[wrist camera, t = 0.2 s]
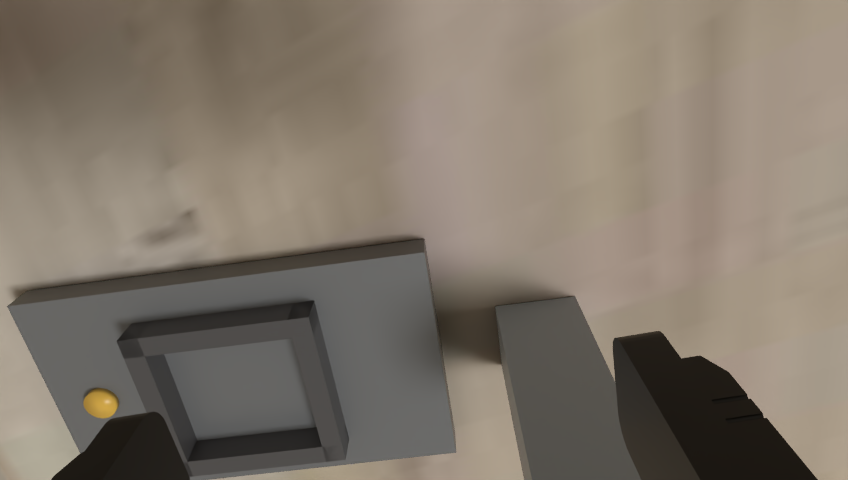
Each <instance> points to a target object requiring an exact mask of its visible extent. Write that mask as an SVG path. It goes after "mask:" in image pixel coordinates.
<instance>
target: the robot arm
mask: <svg viewBox="0 0 848 480" xmlns="http://www.w3.org/2000/svg"><path fill="white" fill-rule="evenodd" d="M613 357H614V369H615V382H616V394H617V406H618V416H619V422H620V427H621V431H622V435H623V438H624V441H625V444H626V447H627V450H628V452H629V454H630V456H631V458H632V461H633V463H634V465H635V467H636V469H637V472H638V474H639V476H640V478H641V480H817V478H816V477H815V476H814V475H813V474H812V472H811V471H810V470H809V469H808V467H807V466H806V465H805V464H804V463H803V461H802V460H801V459H800V458H799V457H798V455H797V454H796V453H795V452H794V451H793V449H792V448H791V447H790V446H789V445H788V443H787V442H786V441H785V440H784V438H783V437H782V436H781V435H780V434H779V432H778V431H777V430H776V429H775V428H774V426H773V425H772V424H771V423H770V422H769V420H768V419H767V418H764V417H763V413H762V412H761V411H760V409H759V408H758V407H757V406H756V405H755V403H754V402H753V401H752V400H751V399H748V397H747V394H746V393H745V391H744V390H743V389H742V388H741V386H740V385H739V384H738V383H737V382H736V380H735V379H734V378H733V377H732V376H731V374H730V373H729V372H727V371H726V370H724V369H722V368H721V367H719V366H717V365H715V364H714V363H712V362H710V361H709V360H707V359H705V358H703V357H702V356H695V357H688V358H682V359H681V358H680V356H679V355H678V354H677V352H676V351H675V349H674V348H673V347H672V345H671V344H670V343H669V341H668V340H667V338H666V337H665V336H664V334H663V333H662V332H660V331H656V332H649V333H643V334H637V335H631V336H625V337H618V338H615V339H614V341H613ZM51 480H190V477H189V475H188V472H187V470H186V468H185V465H184V463H183V461H182V459H181V456H180V454H179V452H178V449H177V447H176V445H175V442H174V440H173V438H172V435H171V433H170V431H169V429H168V426H167V424H166V422H165V420H164V418H163V417H162V416H161V415H160V414H159V413H157V412H147V413H141V414H135V415H129V416H123V417H117V418H112V419H110V420H109V421H107V422H106V423H105V425H104V426H103V427H102V429H101V430H100V431H99V433H98V434H97V435H96V437H95V438H94V439H93V441H92V442H91V443H90V445H89V446H88V447H87V449H86V450H85V451H84V452H82V453H81V454H80V455H78V456H77V457H76V458H75V459H74V460H72V461H71V462H70V463H69V464H68V465H67V466H65V467H64V468H63V469H62V470H61V471H59V472H58V473H57V474H56V475H55V476H54V477H53V478H52V479H51Z"/></svg>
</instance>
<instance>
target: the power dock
mask: <svg viewBox="0 0 848 480" xmlns="http://www.w3.org/2000/svg"><path fill="white" fill-rule="evenodd" d="M7 307H8V309H9V311H10V313H11V315H12V317H13V319H14V321H15V323H16V325H17V327H18V329H19V331H20V333H21V335H22V337H23V339H24V341H25V343H26V345H27V347H28V349H29V351H30V353H31V355H32V357H33V359H34V361H35V363H36V365H37V367H38V369H39V371H40V373H41V375H42V377H43V379H44V381H45V383H46V385H47V387H48V389H49V391H50V393H51V395H52V397H53V399H54V401H55V403H56V405H57V407H58V409H59V411H60V413H61V415H62V417H63V419H64V421H65V423H66V425H67V427H68V429H69V431H70V433H71V435H72V437H73V439H74V441H75V443H76V445H77V447H78V449H79V451H80V453H82V452H84V451H85V450H86V449H87V447H88V446H89V445H90V443H91V442H92V441H93V439H94V438H95V437H96V435H97V434H98V433H99V431H100V430H101V429H102V427H103V426H104V425H105V423H106V422H107V421H109V420H110V419H112V418H117V417H123V416H129V415H135V414H141V413H147V412H157V413H159V414H160V415H161V416H162V417H163V418H164V420H165V422H166V424H167V426H168V429H169V431H170V433H171V435H172V438H173V440H174V442H175V445H176V447H177V449H178V452H179V454H180V456H181V459H182V461H183V463H184V465H185V468H186V470H187V472H188V475H189V477H190V480H208V479H217V478H226V477H236V476H245V475H254V474H263V473H272V472H282V471H291V470H300V469H309V468H318V467H328V466H337V465H346V464H355V463H364V462H373V461H383V460H392V459H401V458H410V457H419V456H429V455H438V454H447V453H456V442H455V430H454V424H453V417H452V411H451V405H450V398H449V392H448V386H447V379H446V373H445V367H444V360H443V354H442V348H441V341H440V335H439V329H438V322H437V316H436V310H435V303H434V297H433V291H432V284H431V278H430V272H429V265H428V259H427V253H426V246H425V240H424V239H420V240H412V241H404V242H397V243H389V244H381V245H374V246H366V247H359V248H351V249H343V250H336V251H328V252H320V253H313V254H305V255H297V256H290V257H282V258H275V259H267V260H259V261H252V262H244V263H236V264H229V265H221V266H213V267H206V268H198V269H191V270H183V271H175V272H168V273H160V274H152V275H145V276H137V277H129V278H122V279H114V280H107V281H99V282H91V283H84V284H76V285H68V286H61V287H53V288H46V289H38V290H30V291H26V292H25V293H23V294H22V295H21V296H20V297H18V298H17V299H16V300H15V301H13V302H12V303H11V304H10V305H8V306H7Z"/></svg>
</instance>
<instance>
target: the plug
mask: <svg viewBox="0 0 848 480" xmlns="http://www.w3.org/2000/svg"><path fill="white" fill-rule="evenodd" d="M495 309H496V318H497V327H498V336H499V345H500V355H501V364H502V369H503V374H504V379H505V384H506V390H507V395H508V400H509V405H510V410H511V415H512V420H513V425H514V430H515V435H516V440H517V445H518V450H519V455H520V461H521V466H522V471H523V476H524V480H641V478H640V476H639V474H638V472H637V469H636V467H635V465H634V463H633V461H632V458H631V456H630V454H629V452H628V450H627V447H626V444H625V441H624V438H623V435H622V431H621V427H620V422H619V416H618V406H617V394H616V383H615V381H614V379H613V377H612V375H611V372H610V370H609V368H608V366H607V364H606V362H605V360H604V357H603V355H602V353H601V351H600V349H599V347H598V345H597V342H596V340H595V338H594V336H593V334H592V332H591V330H590V327H589V325H588V323H587V321H586V319H585V317H584V315H583V312H582V310H581V308H580V306H579V304H578V302H577V300H576V297H567V298H559V299H551V300H543V301H535V302H526V303H518V304H510V305H502V306H495Z"/></svg>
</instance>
